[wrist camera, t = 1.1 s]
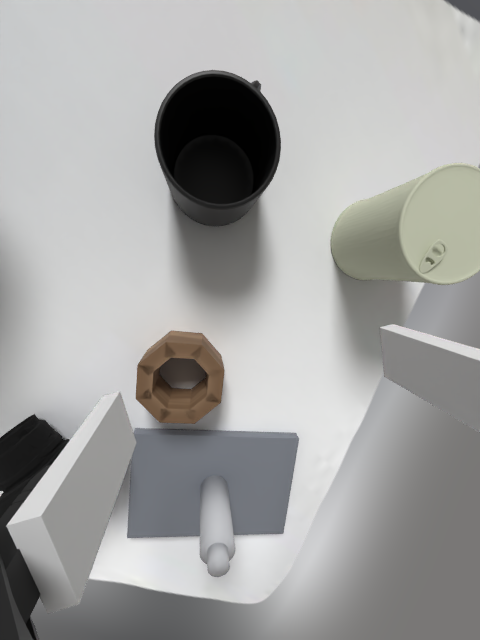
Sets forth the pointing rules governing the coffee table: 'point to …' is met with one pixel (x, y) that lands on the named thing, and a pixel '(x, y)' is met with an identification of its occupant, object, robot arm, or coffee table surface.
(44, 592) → the robot arm
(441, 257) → the can
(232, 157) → the mug
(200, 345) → the collar
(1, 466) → the film camera
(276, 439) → the post board
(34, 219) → the coffee table surface
